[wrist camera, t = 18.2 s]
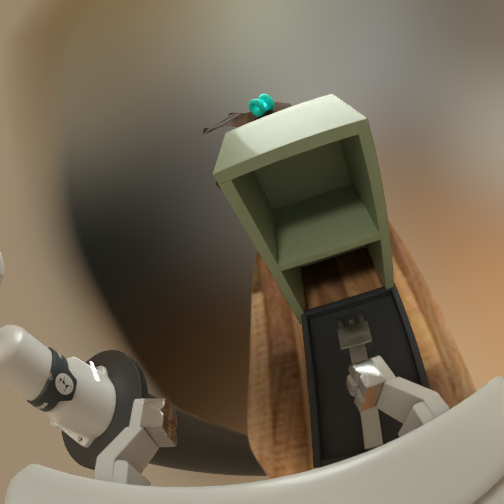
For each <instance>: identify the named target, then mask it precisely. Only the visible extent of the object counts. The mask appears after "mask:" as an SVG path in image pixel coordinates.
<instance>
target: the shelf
mask: <svg viewBox="0 0 504 504" xmlns="http://www.w3.org/2000/svg"><path fill="white" fill-rule="evenodd" d="M213 176H214V177H215V179H216V181H217V182H218V184H219V186H220V187H221V189H222V191H223V193H224V194H225V196H226V198H227V199H228V201H229V202H230V204H231V206H232V208H233V209H234V211H235V213H236V215H237V216H238V218H239V220H240V221H241V223H242V225H243V226H244V228H245V230H246V231H247V233H248V235H249V237H250V238H251V240H252V242H253V243H254V245H255V247H256V249H257V250H258V252H259V254H260V255H261V257H262V259H263V260H264V262H265V264H266V266H267V267H268V269H269V271H270V272H271V274H272V276H273V278H274V279H275V281H276V283H277V284H278V286H279V288H280V290H281V291H282V293H283V295H284V296H285V298H286V300H287V302H288V303H289V305H290V307H291V308H292V310H293V312H294V314H295V315H296V317H297V319H298V321H299V322H300V324H302V321H301V315H302V314H304V311H305V310H307V308H306V301H305V294H304V287H303V280H302V274H301V268H302V267H305V266H309V265H312V264H315V263H318V262H322V261H325V260H328V259H331V258H334V257H337V256H341V255H344V254H347V253H350V252H353V251H356V250H359V249H362V248H365V247H367V250H368V252H369V255H370V257H371V259H372V262H373V264H374V267H375V269H376V272H377V275H378V277H379V280H380V282H381V285H382V287H384V286H385V289H389V288H392V287H394V280H393V264H392V252H391V241H390V232H389V224H388V216H387V209H386V203H385V196H384V190H383V185H382V179H381V174H380V169H379V164H378V159H377V154H376V150H375V146H374V141H373V137H372V133H371V130H370V126H369V122H368V119H367V118H366V117H365V116H363V115H362V114H361V113H359V112H358V111H356V110H355V109H354V108H352V107H351V106H349V105H348V104H346V103H345V102H343V101H342V100H340V99H339V98H337V97H336V96H334V95H333V94H329V95H326V96H322V97H320V98H316V99H313V100H310V101H307V102H304V103H301V104H298V105H295V106H292V107H289V108H286V109H284V110H281V111H278V112H276V113H273V114H270V115H268V116H265V117H263V118H260V119H258V120H255V121H253V122H250V123H248V124H245V125H243V126H241V127H238V128H236V129H234V130H232V131H229V132H227V133H226V134H225V137H224V140H223V143H222V147H221V150H220V153H219V156H218V159H217V162H216V166H215V169H214V172H213Z"/></svg>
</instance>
